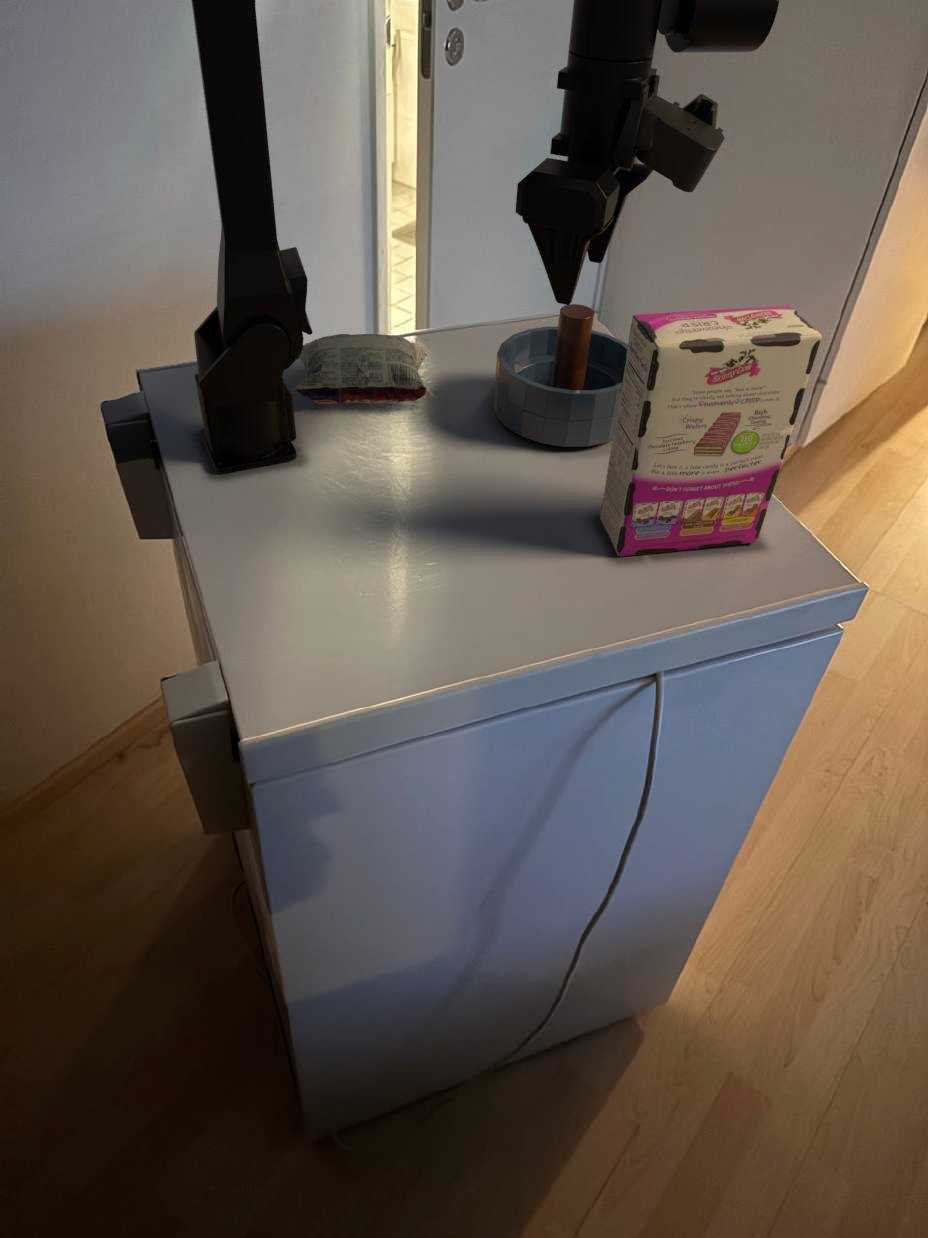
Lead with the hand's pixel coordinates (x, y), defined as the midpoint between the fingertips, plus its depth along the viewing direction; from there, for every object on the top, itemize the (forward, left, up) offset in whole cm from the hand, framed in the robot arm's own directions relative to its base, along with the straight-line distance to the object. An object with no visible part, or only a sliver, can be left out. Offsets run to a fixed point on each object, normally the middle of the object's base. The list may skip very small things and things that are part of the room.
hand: (580, 281), depth 71 cm
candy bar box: (0, -18, -12) cm, 22 cm away
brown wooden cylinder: (0, 0, -11) cm, 11 cm away
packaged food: (-15, +10, -12) cm, 22 cm away
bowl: (0, 0, -12) cm, 12 cm away
